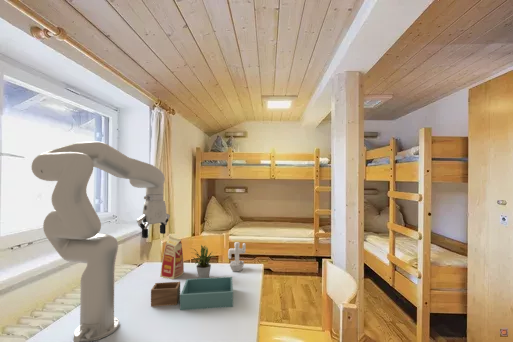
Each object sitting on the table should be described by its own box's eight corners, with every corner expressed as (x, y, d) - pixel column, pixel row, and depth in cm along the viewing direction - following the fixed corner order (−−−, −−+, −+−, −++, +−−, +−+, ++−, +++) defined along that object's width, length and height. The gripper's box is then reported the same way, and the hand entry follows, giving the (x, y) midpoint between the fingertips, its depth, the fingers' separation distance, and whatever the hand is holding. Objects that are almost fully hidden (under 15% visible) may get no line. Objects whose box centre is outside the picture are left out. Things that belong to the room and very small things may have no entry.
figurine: (228, 267, 139) (228, 240, 140) (245, 267, 140) (245, 240, 140) (227, 272, 132) (227, 244, 133) (245, 272, 133) (245, 243, 133)
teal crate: (232, 307, 97) (232, 292, 98) (180, 310, 95) (180, 295, 95) (232, 290, 112) (232, 276, 112) (186, 292, 110) (186, 279, 110)
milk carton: (160, 277, 126) (160, 237, 127) (171, 270, 135) (171, 233, 135) (175, 279, 123) (175, 238, 124) (186, 272, 132) (186, 234, 133)
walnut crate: (177, 305, 99) (177, 288, 99) (150, 306, 98) (150, 290, 98) (180, 297, 106) (180, 281, 106) (155, 298, 104) (155, 282, 105)
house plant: (185, 274, 129) (185, 243, 130) (211, 270, 135) (211, 240, 136) (191, 285, 116) (191, 250, 117) (219, 279, 123) (219, 246, 123)
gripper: (143, 199, 106) (143, 240, 105) (174, 197, 121) (174, 232, 120) (132, 199, 109) (131, 238, 109) (163, 196, 125) (163, 231, 124)
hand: (154, 235), depth 115 cm, fingers open, 9 cm apart
